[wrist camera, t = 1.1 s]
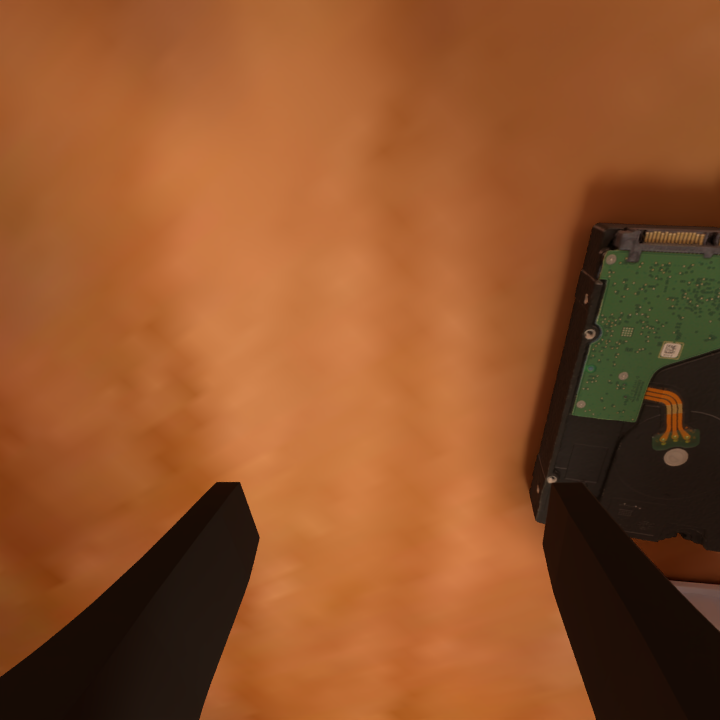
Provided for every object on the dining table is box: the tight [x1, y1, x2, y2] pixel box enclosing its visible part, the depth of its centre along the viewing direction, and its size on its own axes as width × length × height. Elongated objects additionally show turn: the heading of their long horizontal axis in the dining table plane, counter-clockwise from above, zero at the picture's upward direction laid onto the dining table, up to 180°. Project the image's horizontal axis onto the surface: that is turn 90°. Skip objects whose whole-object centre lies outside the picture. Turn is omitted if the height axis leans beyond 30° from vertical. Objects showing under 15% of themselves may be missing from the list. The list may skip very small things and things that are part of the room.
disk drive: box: [529, 223, 720, 552], centre depth 19 cm, size 10×3×15 cm
